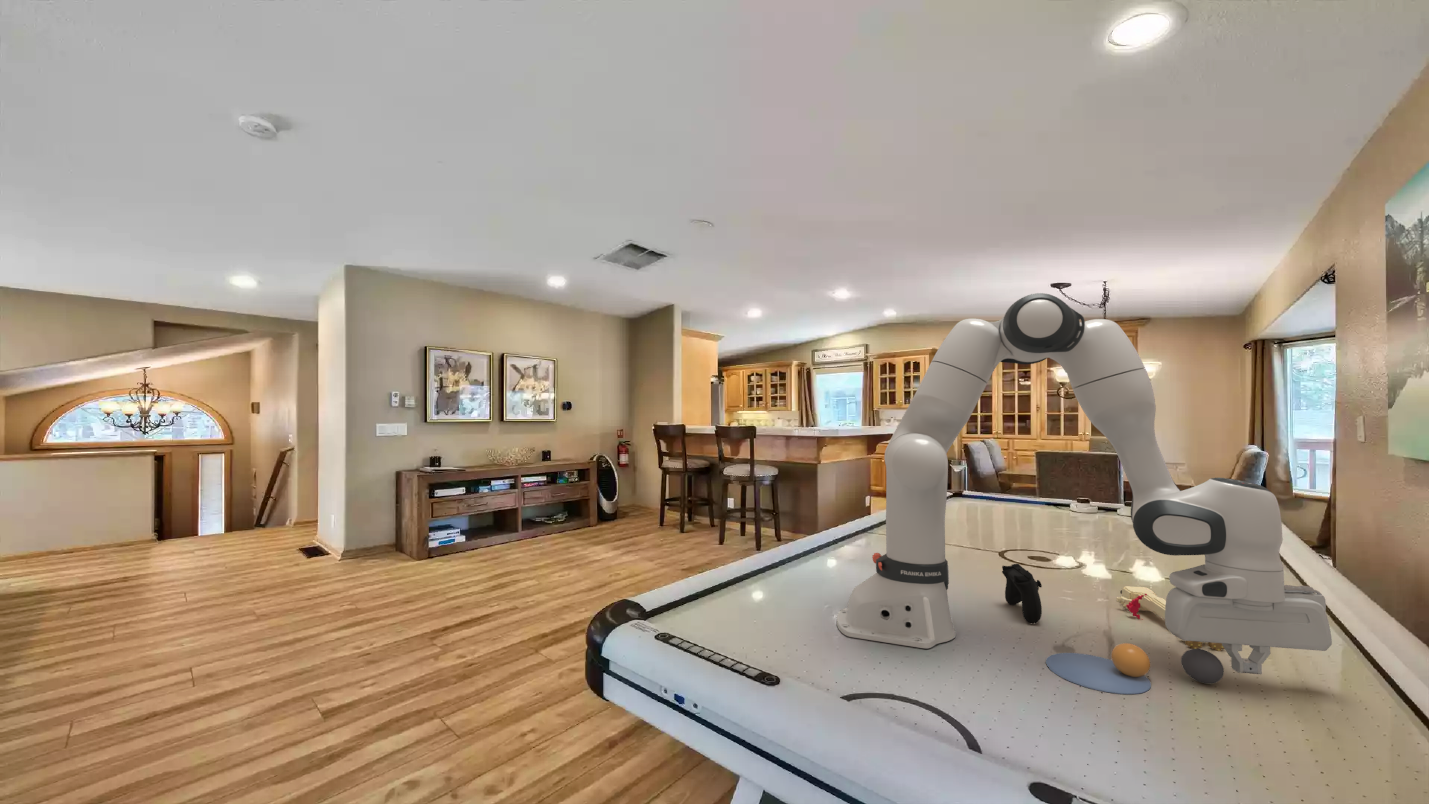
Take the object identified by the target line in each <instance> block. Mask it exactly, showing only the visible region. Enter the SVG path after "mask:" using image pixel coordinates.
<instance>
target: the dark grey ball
mask: <svg viewBox="0 0 1429 804" xmlns="http://www.w3.org/2000/svg"><path fill="white" fill-rule="evenodd" d="M1180 663H1181V666H1182V669H1183V671H1184V672H1185V673H1186V674H1187V675H1188V676H1189V677H1190V678H1191V679H1193V680H1194V681H1196V682H1198V683H1202V684H1206V685H1207V684H1209V685H1210V684H1215V683H1217V682H1220V680H1221V679H1223V677H1224V674H1225V670H1224V669H1225V668H1224V666H1223V664H1222V662H1221V660H1220V659H1219V658H1218V657H1217V656H1216V655H1214V653H1212V652H1210V651H1208V650H1206V649H1202V648H1198V649H1192V648H1190V649H1188V650H1186V651H1185V652H1183V654H1182V656H1181V659H1180Z"/></svg>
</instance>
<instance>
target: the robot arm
mask: <svg viewBox="0 0 1429 804" xmlns="http://www.w3.org/2000/svg"><path fill="white" fill-rule="evenodd" d="M1085 320H1086V319H1085V318H1084V316H1083V315H1082V314H1080V313H1079V312H1078V311H1076V310H1075V309H1073V308H1072V307H1071V306H1069V305H1068V304H1067V303H1066V302H1064V300H1062V299H1060V298H1059V297H1057V296H1054V295H1052V294H1049V293H1043V292H1042V293H1041V292H1040V293H1039V292H1037V293H1031V294H1028V295H1024V296H1023V297H1021V298H1019V299H1017V300H1016V301H1015V302H1013V303H1012V304H1011V305H1010V306H1009V307H1008V309H1007V310H1006V312H1005V314H1004V316H1003V317H1002V318H1001V319H1000V320H997V321H987V320H984V319H980V318H966V319H962V320H960V321H958V322H957V323H956V324H954V326H953V327H952V328H951V330H950V331H949V333H948V334H947V335H946V337H945V338H944V339H943V341H942V342H941V344H940V346H939V347H938V349H937V351H936V352H935V354H934V356H933V358H932V360H931V362H930V364H929V366H928V367H927V370H926V372H925V374H924V376H923V377H922V380H921V381H920V384H919V386H918V387H917V388H916V389H917V390H916V392H915V393H914V395H913V397H912V399H911V401H910V403H909V404H908V407H907V408H906V410H905V412H904V414H903V416H902V417H901V419H900V421H899V423H898V425H897V427H896V429H895V431H894V432H893V434H892V436H891V437H890V440H889V442H888V444H887V446H886V448H885V450H884V464H885V471H886V474H885V475H886V484H885V485H886V492H885V494H886V496H885V498H886V503H885V506H886V507H885V536H886V537H885V544H886V545H885V546H886V549H885V550H886V551H885V552H886V553H885V554H883V555H881V553H879V552H874V553H873V555H872V557H871V558H872V561H873V563H874V564H875V571H876V573H874V574H873V575H872V576H870V577H868V578H867V579H865V580H864V581H862V582H860V583H859V584H857V585H856V586H854V588H853V589H852V590H851V593H850V594H849V598H848V603H847V607H845V608H842V609H841V610H840V611H839V612H838V613H837V615H836V616H837V617H836V626H837V628H838V629H839V630H838V631H840V633H842V634H843V635H845V636H846V637H850V638H855V639H862V640H869V641H872V642H873V641H874V642H881V643H887V644H893V645H900V646H906V647H912V648H913V647H914V648H918V649H919V648H920V649H930V648H933V647H935V646H936V645H938V644H942V643H946V642H949V641H952V640H953V639H954V638H955V637H956V634H957V633H956V629H955V626H954V623H953V619H952V615H951V610H950V605H949V597H948V589H949V583H950V577H949V576H950V569H949V563H948V560H947V559H946V523H945V522H946V510H947V500H948V499H947V496H948V478H949V475H948V474H949V473H948V472H949V470H948V469H949V461H948V455H947V453H948V452H949V450H950V448H951V446H952V445H953V444H954V442H955V440H956V439H957V437H958V436H959V434H960V433H961V431H962V429H963V428H964V426H965V425H966V424H967V423H968V421H969V419H970V417H971V416H972V414H973V412H974V410H975V408H976V406H977V404H978V402H979V400H980V398H981V396H982V394H983V392H984V391H985V389H986V387H987V385H988V383H989V381H990V379H991V376H992V375H993V374H994V371H995V370H996V368H997V366H999V364H1000V363H1008V364H1017V365H1033V364H1037V363H1041V362H1043V361H1046V360H1047V359H1048V358H1049V359H1050V360H1053V361H1054V362H1056V363H1057V364H1058V365H1060V366H1061V368H1062V369H1063V370H1064V372H1065V373H1066V375H1067V378H1068V381H1069V383H1070V386H1071V389H1072V391H1073V393H1074V396H1075V398H1076V400H1077V402H1078V405H1079V406H1080V408H1081V409H1082V411H1083V412H1084V414H1085V416H1086V417H1087V419H1088V420H1089V422H1090V423H1091V424H1092V426H1094V427H1095V429H1097V430H1098V431H1099V432H1100V433H1101V434H1102V435H1103V436H1104V437H1105V438H1106V439H1107V440H1108V442H1109V443H1110V444H1111V446H1112V447H1113V449H1114V451H1115V452H1116V456H1117V457H1118V459H1119V461H1120V464H1121V466H1122V469H1123V472H1124V474H1125V476H1126V478H1127V481H1128V483H1129V487H1130V489H1131V493H1132V494H1131V495H1132V499H1131V505H1130V520H1131V522H1132V527H1133V530H1134V531H1133V532H1134V533H1135V536H1136V537H1137V539H1138V540H1139V541H1140V542H1141V543H1142V544H1143V545H1144V546H1146V548H1149V549H1150V550H1152V551H1153V552H1156V553H1158V554H1163V555H1167V556H1203V555H1204V564H1200V565H1197V566H1193V567H1191V568H1186V569H1181V570H1176V571H1173V572H1170V574H1169V576H1168V578H1169V583H1170V584H1171V585H1173V586H1174V587H1173V588H1171V589H1170V590H1169V591H1168V593H1167V595H1166V599H1165V600H1166V606H1165V620H1164V624H1165V627H1166V629H1167V631H1168V632H1169V633H1170V634H1172V635H1173V636H1175V637H1177V638H1178V639H1180V640H1182V641H1183V640H1185V641H1184V642H1186V641H1197V642H1204V643H1208V642H1211V643H1222V646H1223V647H1224V649H1223V650H1225V652H1226V653H1227V655H1228V656H1229V657H1230V661H1231V669H1232V670H1233V671H1235V672H1237V673H1239V674H1253V675H1262V673H1263V670H1262V669H1263V665H1262V664H1264V663H1265V662H1266V660H1267V659H1268V658H1269V657H1270V655H1271V648H1281V649H1292V650H1293V649H1294V650H1307V651H1319V652H1322V651H1323V652H1325V651H1327V650H1329V648H1330V647H1331V646H1332V645H1333V639H1332V633H1331V631H1332V630H1331V626H1330V621H1329V619H1328V615H1327V613H1326V610H1327V607H1326V603H1327V602H1326V598H1325V596H1324V594H1322V593H1321V592H1320V591H1319V590H1316V589H1315V588H1313V587H1312V586H1308V585H1299V586H1298V585H1291V584H1285V574H1284V573H1285V572H1284V571H1285V569H1284V564H1283V562H1282V561H1281V556H1280V550H1281V549H1280V548H1281V546H1282V544H1283V540H1284V539H1283V525H1282V516H1281V515H1282V514H1281V510H1280V505H1279V502H1278V499H1277V497H1276V495H1275V494H1274V493H1273V492H1271V490H1269V489H1268V488H1267V487H1264V486H1263V485H1260V484H1256V483H1253V482H1249V481H1245V480H1239V479H1233V478H1226V477H1211V478H1209V479H1208V480H1206V481H1205V482H1202V483H1200V484H1198V485H1196V486H1192V487H1189V488H1186V489H1184V490H1181V489H1180V488H1179V487H1178V485H1177V484H1176V483H1175V480H1174V479H1173V478H1172V476H1171V472H1170V471H1169V468H1168V466H1167V463H1166V461H1165V459H1164V457H1163V454H1162V451H1161V450H1160V447H1159V444H1158V441H1157V437H1156V433H1155V419H1156V418H1155V417H1156V413H1157V411H1156V410H1157V405H1156V399H1155V394H1154V388H1153V386H1152V382H1151V379H1150V375H1149V374H1148V371H1147V370H1146V367H1145V365H1144V363H1143V360H1142V359H1141V357H1140V355H1139V352H1138V351H1137V349H1136V347H1135V345H1134V344H1133V343H1132V341H1131V339H1130V338H1129V337H1128V335H1127V334H1126V333H1125V332H1124V329H1122V327H1121V326H1120V325H1119V324H1118V323H1117V322H1115V321H1114V320H1111V319H1105V318H1094V319H1090V320H1086V321H1085ZM1243 646H1249V647H1250V648H1251V649H1252V651H1251V652H1250V654H1249V656H1248V657H1247V658H1245V657H1242V656H1241V654H1240V652H1242V651H1243Z"/></svg>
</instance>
